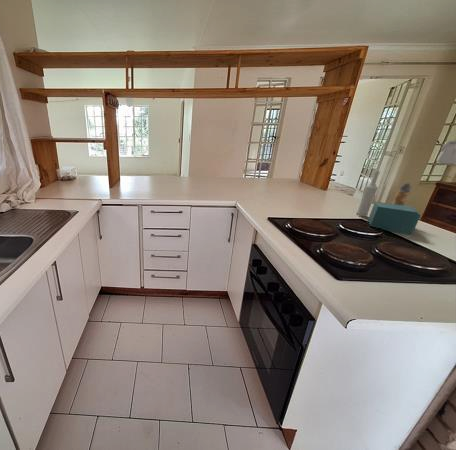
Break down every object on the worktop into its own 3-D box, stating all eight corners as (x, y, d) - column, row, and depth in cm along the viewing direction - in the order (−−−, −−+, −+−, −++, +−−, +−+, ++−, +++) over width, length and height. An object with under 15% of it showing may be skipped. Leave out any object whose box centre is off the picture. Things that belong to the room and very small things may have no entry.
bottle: (353, 213, 137) (368, 170, 129) (363, 214, 137) (379, 171, 128) (359, 216, 132) (375, 171, 124) (369, 217, 132) (386, 172, 123)
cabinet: (402, 226, 118) (411, 206, 114) (408, 234, 108) (418, 212, 104) (367, 220, 126) (374, 201, 122) (370, 227, 115) (378, 206, 112)
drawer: (410, 226, 116) (418, 209, 113) (416, 233, 107) (424, 215, 104) (374, 220, 124) (380, 204, 121) (376, 226, 114) (383, 209, 111)
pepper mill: (397, 220, 128) (413, 182, 121) (398, 222, 124) (415, 184, 117) (385, 218, 131) (400, 181, 123) (386, 220, 127) (402, 182, 120)
